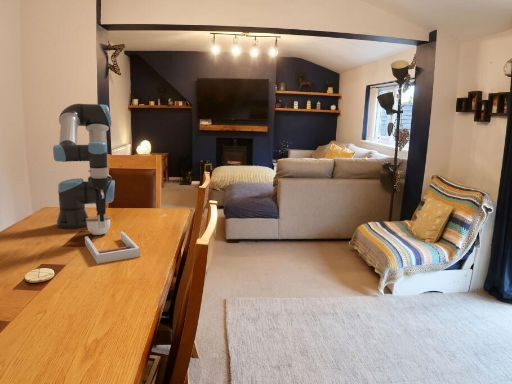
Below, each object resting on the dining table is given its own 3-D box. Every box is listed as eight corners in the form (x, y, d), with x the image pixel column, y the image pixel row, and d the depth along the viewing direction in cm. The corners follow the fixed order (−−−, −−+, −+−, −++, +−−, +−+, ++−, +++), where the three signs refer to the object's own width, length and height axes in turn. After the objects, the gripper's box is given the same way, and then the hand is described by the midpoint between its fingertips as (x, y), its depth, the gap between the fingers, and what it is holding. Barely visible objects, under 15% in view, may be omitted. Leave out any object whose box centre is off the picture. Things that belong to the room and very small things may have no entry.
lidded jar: (102, 235, 179) (101, 215, 178) (82, 236, 181) (80, 215, 180) (115, 231, 189) (114, 212, 188) (96, 232, 191) (94, 213, 191)
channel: (85, 244, 171) (84, 236, 171) (123, 238, 180) (123, 231, 180) (97, 263, 150) (96, 255, 149) (140, 256, 159) (139, 248, 158)
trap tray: (96, 254, 159) (95, 251, 159) (129, 249, 166) (129, 246, 166) (100, 261, 152) (100, 257, 152) (134, 255, 160) (134, 251, 159)
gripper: (87, 175, 178) (90, 225, 182) (93, 179, 167) (95, 232, 172) (104, 174, 182) (107, 223, 186) (111, 178, 171) (113, 230, 176)
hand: (101, 227), depth 179 cm, fingers closed
